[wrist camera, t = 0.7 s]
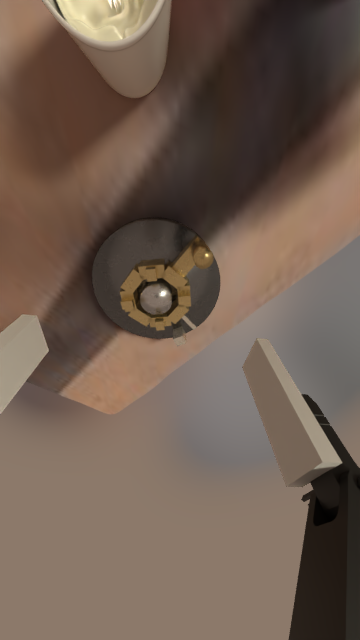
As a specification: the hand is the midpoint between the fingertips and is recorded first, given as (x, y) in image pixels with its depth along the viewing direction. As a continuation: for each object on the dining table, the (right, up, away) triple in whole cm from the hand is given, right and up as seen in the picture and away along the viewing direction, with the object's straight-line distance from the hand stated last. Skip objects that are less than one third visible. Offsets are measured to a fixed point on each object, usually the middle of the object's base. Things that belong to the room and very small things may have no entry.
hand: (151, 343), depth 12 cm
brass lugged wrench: (0, +8, +20) cm, 22 cm away
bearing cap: (-2, +8, +24) cm, 25 cm away
